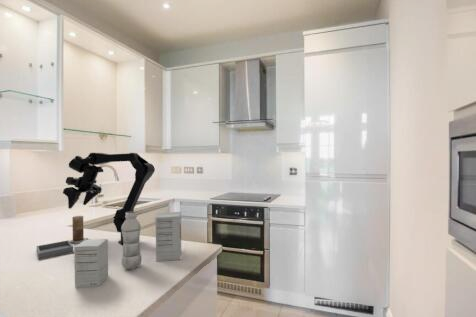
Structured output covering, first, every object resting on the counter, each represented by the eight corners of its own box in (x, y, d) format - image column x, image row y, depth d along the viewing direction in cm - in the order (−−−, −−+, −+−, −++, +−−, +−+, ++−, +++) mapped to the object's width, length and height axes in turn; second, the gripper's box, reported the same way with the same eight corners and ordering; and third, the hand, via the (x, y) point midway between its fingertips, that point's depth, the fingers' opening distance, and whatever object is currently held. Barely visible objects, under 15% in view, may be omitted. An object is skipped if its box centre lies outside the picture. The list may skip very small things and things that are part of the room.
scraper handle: (88, 240, 125) (88, 215, 125) (79, 244, 119) (79, 218, 119) (77, 239, 126) (76, 215, 126) (67, 243, 120) (67, 218, 120)
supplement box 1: (86, 276, 85) (85, 239, 85) (109, 275, 86) (108, 238, 86) (73, 287, 78) (73, 246, 78) (99, 286, 79) (98, 245, 79)
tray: (73, 252, 109) (73, 246, 109) (38, 259, 101) (38, 253, 101) (68, 245, 117) (68, 240, 117) (36, 251, 110) (36, 246, 110)
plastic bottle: (134, 272, 88) (134, 214, 88) (117, 270, 90) (116, 213, 90) (145, 264, 95) (144, 210, 95) (128, 263, 96) (128, 210, 96)
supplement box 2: (180, 260, 99) (179, 216, 99) (155, 261, 97) (155, 217, 97) (181, 251, 108) (181, 211, 108) (159, 252, 107) (158, 212, 107)
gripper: (89, 169, 133) (77, 196, 134) (59, 171, 114) (46, 202, 115) (107, 178, 131) (95, 205, 132) (79, 181, 113) (66, 213, 114)
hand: (77, 206), depth 123 cm, fingers open, 9 cm apart
